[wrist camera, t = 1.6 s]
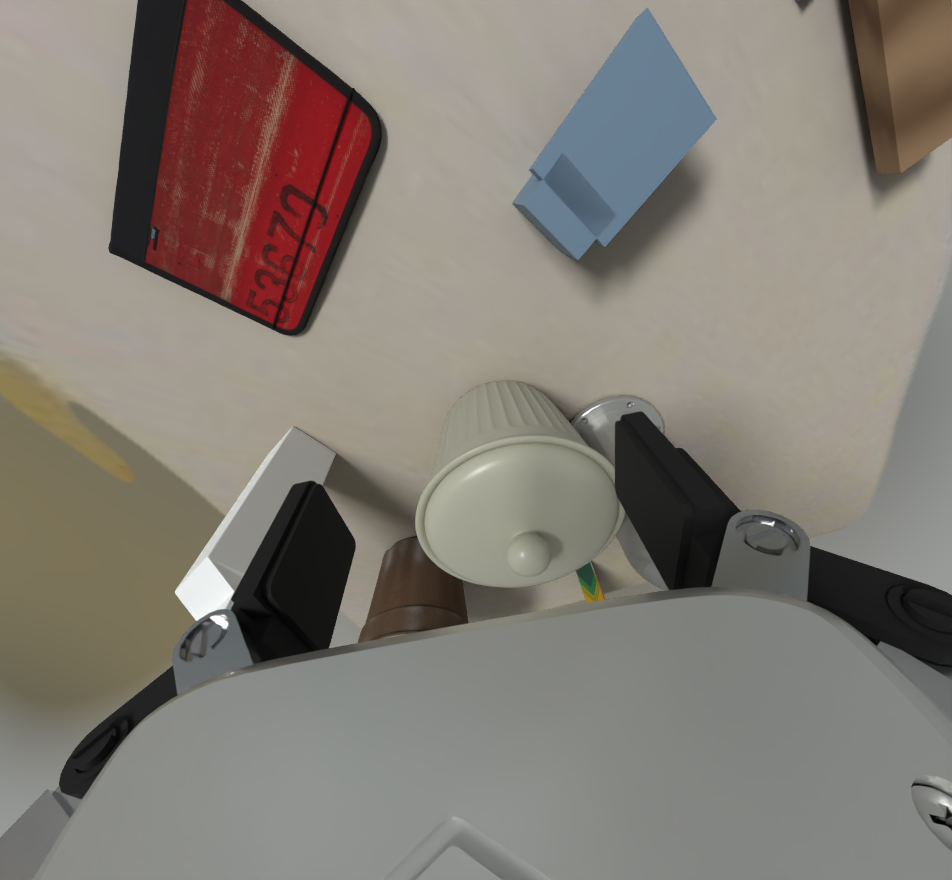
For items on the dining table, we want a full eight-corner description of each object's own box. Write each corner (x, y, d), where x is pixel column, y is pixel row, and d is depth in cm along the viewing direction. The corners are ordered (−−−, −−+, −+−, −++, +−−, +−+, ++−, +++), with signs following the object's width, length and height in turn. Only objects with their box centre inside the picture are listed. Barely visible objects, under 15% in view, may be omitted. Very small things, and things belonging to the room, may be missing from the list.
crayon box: (572, 563, 62) (595, 632, 52) (589, 558, 61) (616, 626, 51) (581, 586, 66) (604, 654, 56) (598, 582, 65) (624, 649, 55)
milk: (267, 454, 45) (144, 630, 27) (293, 424, 43) (178, 593, 25) (311, 480, 48) (226, 656, 30) (338, 453, 46) (263, 625, 28)
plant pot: (480, 582, 63) (489, 687, 50) (389, 598, 64) (374, 705, 50) (461, 517, 54) (466, 625, 40) (355, 536, 55) (325, 648, 41)
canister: (494, 500, 52) (517, 655, 35) (393, 425, 44) (359, 578, 27) (600, 422, 46) (694, 563, 28) (505, 318, 38) (555, 427, 20)
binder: (103, 252, 31) (138, -86, 21) (122, 248, 33) (162, -64, 23) (298, 346, 37) (390, 116, 28) (305, 338, 39) (393, 120, 30)
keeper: (672, 130, 30) (716, 119, 25) (566, 257, 35) (586, 268, 30) (610, 41, 27) (647, 7, 22) (503, 194, 32) (514, 195, 27)
